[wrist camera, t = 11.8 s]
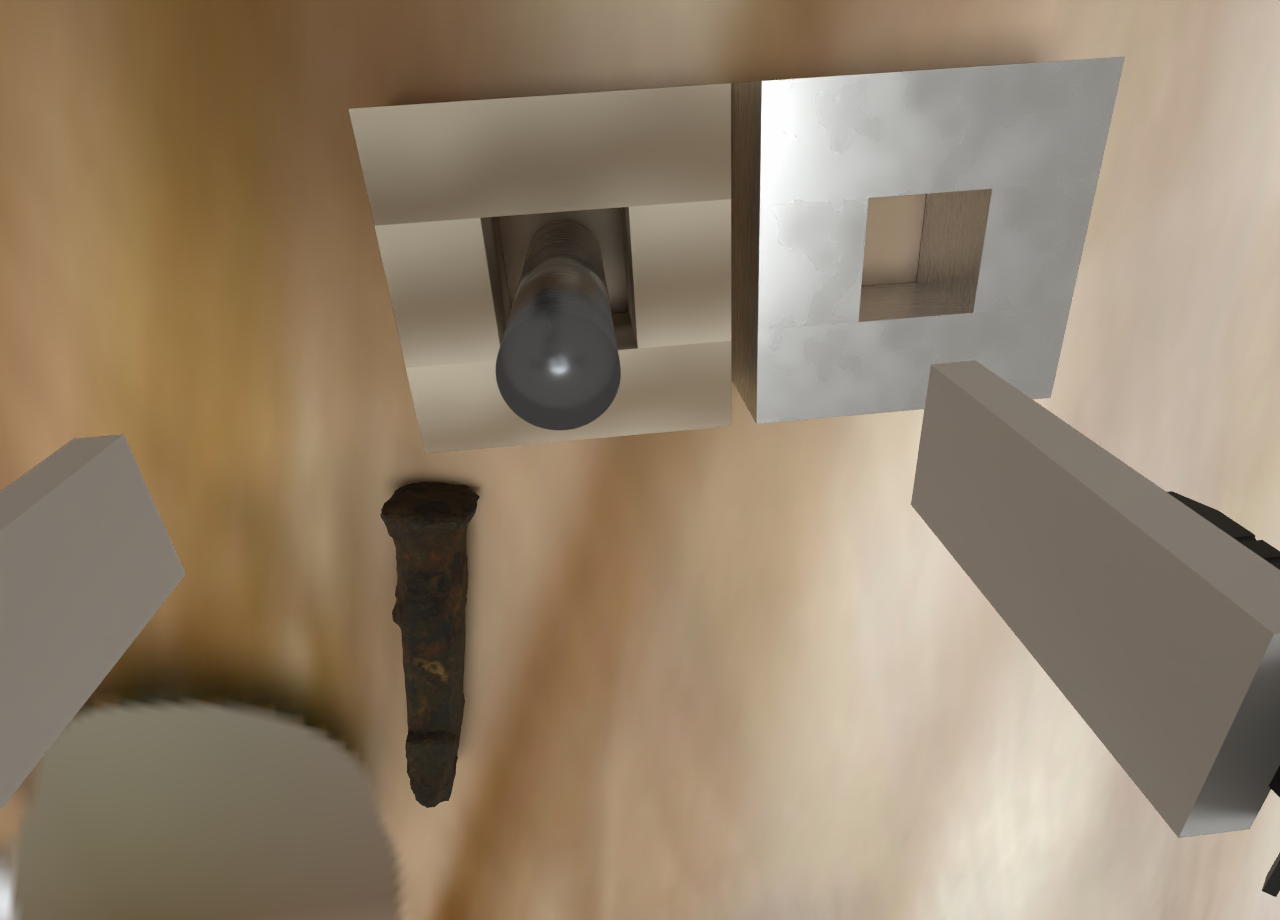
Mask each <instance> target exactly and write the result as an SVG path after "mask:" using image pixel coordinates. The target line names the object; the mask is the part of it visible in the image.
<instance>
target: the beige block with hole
mask: <svg viewBox="0 0 1280 920" xmlns="http://www.w3.org/2000/svg"><path fill="white" fill-rule="evenodd" d="M349 113H350V117H351V122H352V127H353V131H354V136H355V140H356V145H357V149H358V154H359V158H360V163H361V167H362V172H363V176H364V181H365V185H366V190H367V194H368V199H369V203H370V208H371V212H372V217H373V222H374V226H375V231H376V235H377V240H378V244H379V249H380V253H381V258H382V262H383V267H384V271H385V276H386V280H387V285H388V289H389V294H390V298H391V303H392V308H393V312H394V317H395V321H396V326H397V330H398V335H399V339H400V344H401V348H402V353H403V357H404V362H405V366H406V371H407V375H408V380H409V384H410V389H411V394H412V398H413V403H414V407H415V412H416V416H417V421H418V425H419V430H420V434H421V439H422V443H423V448H424V452H425V453H437V452H448V451H459V450H470V449H481V448H493V447H504V446H515V445H526V444H537V443H548V442H560V441H571V440H582V439H593V438H604V437H616V436H627V435H638V434H649V433H660V432H672V431H683V430H694V429H705V428H716V427H727V426H731V83H725V84H710V85H695V86H680V87H665V88H651V89H636V90H621V91H606V92H591V93H576V94H561V95H546V96H531V97H517V98H502V99H487V100H472V101H457V102H442V103H427V104H412V105H397V106H383V107H368V108H353V109H349ZM619 207H621V208H622V223H623V237H624V252H625V267H626V281H627V296H628V311H629V312H626V313H614V314H612V320H613V325H614V331H615V337H616V343H617V348H618V354H619V360H620V367H621V379H620V385H619V388H618V392H617V394H616V396H615V399H614V400H613V402H612V404H611V405H610V406H609V408H608V409H607V410H606V411H605V412H604V413H603V414H602V415H601V416H600V417H598V418H597V419H596V420H594V421H592V422H591V423H589V424H587V425H584V426H582V427H579V428H575V429H570V430H548V429H544V428H540V427H537V426H534V425H532V424H530V423H528V422H526V421H525V420H523V419H521V418H520V417H519V416H518V415H516V414H515V413H514V412H513V411H512V410H511V409H510V408H509V406H508V405H507V404H506V402H505V401H504V399H503V397H502V395H501V393H500V391H499V388H498V385H497V380H496V372H495V371H496V360H497V355H498V352H499V349H500V345H501V342H502V338H503V335H504V332H505V328H506V325H507V322H508V318H509V315H510V312H511V307H510V300H509V294H508V287H507V280H506V273H505V266H504V259H503V252H502V245H501V238H500V231H499V224H498V216H511V215H525V214H538V213H552V212H565V211H578V210H592V209H605V208H619Z"/></svg>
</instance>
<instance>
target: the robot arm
mask: <svg viewBox="0 0 1280 920" xmlns="http://www.w3.org/2000/svg"><path fill="white" fill-rule="evenodd" d="M911 505H912V506H913V508H914V509H915V510H916V511H917V513H918V514H919V515H920V516H921V517H922V519H923V520H924V521H925V522H926V524H927V525H928V526H929V527H930V529H931V530H932V531H933V532H934V534H935V535H936V536H937V537H938V539H939V540H940V541H941V542H942V544H943V545H944V546H945V547H946V549H947V550H948V551H949V552H950V554H951V555H952V556H953V557H954V559H955V560H956V561H957V562H958V564H959V565H960V566H961V567H962V569H963V570H964V571H965V572H966V574H967V575H968V576H969V577H970V579H971V580H972V581H973V582H974V583H975V585H976V586H977V587H978V588H979V590H980V591H981V592H982V593H983V595H984V596H985V597H986V598H987V600H988V601H989V602H990V603H991V605H992V606H993V607H994V608H995V610H996V611H997V612H998V613H999V615H1000V616H1001V617H1002V618H1003V620H1004V621H1005V622H1006V623H1007V625H1008V626H1009V627H1010V628H1011V630H1012V631H1013V632H1014V633H1015V635H1016V636H1017V637H1018V638H1019V640H1020V641H1021V642H1022V643H1023V645H1024V646H1025V647H1026V648H1027V649H1028V651H1029V652H1030V653H1031V654H1032V656H1033V657H1034V658H1035V659H1036V661H1037V662H1038V663H1039V664H1040V666H1041V667H1042V668H1043V669H1044V671H1045V672H1046V673H1047V674H1048V676H1049V677H1050V678H1051V679H1052V681H1053V682H1054V683H1055V684H1056V686H1057V687H1058V688H1059V689H1060V691H1061V692H1062V693H1063V694H1064V696H1065V697H1066V698H1067V699H1068V701H1069V702H1070V703H1071V704H1072V706H1073V707H1074V708H1075V709H1076V711H1077V712H1078V713H1079V714H1080V715H1081V717H1082V718H1083V719H1084V720H1085V722H1086V723H1087V724H1088V725H1089V727H1090V728H1091V729H1092V730H1093V732H1094V733H1095V734H1096V735H1097V737H1098V738H1099V739H1100V740H1101V742H1102V743H1103V744H1104V745H1105V747H1106V748H1107V749H1108V750H1109V752H1110V753H1111V754H1112V755H1113V757H1114V758H1115V759H1116V760H1117V762H1118V763H1119V764H1120V765H1121V767H1122V768H1123V769H1124V770H1125V772H1126V773H1127V774H1128V775H1129V777H1130V778H1131V779H1132V780H1133V781H1134V783H1135V784H1136V785H1137V786H1138V788H1139V789H1140V790H1141V791H1142V793H1143V794H1144V795H1145V796H1146V798H1147V799H1148V800H1149V801H1150V803H1151V804H1152V805H1153V806H1154V808H1155V809H1156V810H1157V811H1158V813H1159V814H1160V815H1161V816H1162V818H1163V819H1164V820H1165V821H1166V823H1167V824H1168V825H1169V826H1170V828H1171V829H1172V830H1173V831H1174V833H1175V834H1176V835H1177V836H1178V838H1181V837H1190V836H1198V835H1206V834H1215V833H1223V832H1231V831H1239V830H1248V829H1250V827H1251V825H1252V823H1253V822H1254V820H1255V818H1256V816H1257V814H1258V812H1259V810H1260V808H1261V807H1262V805H1263V803H1264V801H1265V799H1266V797H1267V795H1268V794H1269V792H1270V790H1271V789H1272V790H1273V791H1274V792H1275V793H1276V794H1277V795H1278V796H1279V797H1280V551H1278V550H1277V549H1275V548H1274V547H1272V546H1271V545H1269V544H1268V543H1266V542H1265V541H1263V540H1258V541H1257V540H1256V539H1255V535H1254V534H1253V533H1251V532H1250V531H1248V530H1247V529H1245V528H1244V527H1242V526H1241V525H1239V524H1238V523H1236V522H1235V521H1233V520H1232V519H1230V518H1229V517H1227V516H1226V515H1224V514H1223V513H1221V512H1219V511H1218V510H1215V509H1213V508H1211V507H1208V506H1206V505H1203V504H1201V503H1199V502H1196V501H1194V500H1191V499H1189V498H1187V497H1184V496H1182V495H1179V494H1177V493H1175V492H1166V491H1164V490H1163V489H1161V488H1160V487H1158V486H1157V485H1156V484H1154V483H1153V482H1151V481H1150V480H1148V479H1147V478H1145V477H1144V476H1142V475H1141V474H1140V473H1138V472H1137V471H1135V470H1134V469H1132V468H1131V467H1129V466H1128V465H1126V464H1125V463H1124V462H1122V461H1121V460H1119V459H1118V458H1116V457H1115V456H1113V455H1112V454H1111V453H1109V452H1108V451H1106V450H1105V449H1103V448H1102V447H1100V446H1099V445H1097V444H1096V443H1095V442H1093V441H1092V440H1090V439H1089V438H1087V437H1086V436H1084V435H1083V434H1082V433H1080V432H1079V431H1077V430H1076V429H1074V428H1073V427H1071V426H1070V425H1068V424H1067V423H1066V422H1064V421H1063V420H1061V419H1060V418H1058V417H1057V416H1055V415H1054V414H1053V413H1051V412H1050V411H1048V410H1047V409H1045V408H1044V407H1042V406H1041V405H1039V404H1038V403H1037V402H1035V401H1034V400H1032V399H1031V398H1029V397H1028V396H1026V395H1025V394H1024V393H1022V392H1021V391H1019V390H1018V389H1016V388H1015V387H1013V386H1012V385H1010V384H1009V383H1008V382H1006V381H1005V380H1003V379H1002V378H1000V377H999V376H997V375H996V374H994V373H993V372H992V371H990V370H989V369H987V368H986V367H984V366H983V365H981V364H980V363H979V362H977V361H976V360H974V361H962V362H951V363H939V364H931V367H930V374H929V381H928V388H927V395H926V403H925V410H924V417H923V424H922V431H921V438H920V445H919V452H918V459H917V466H916V474H915V481H914V488H913V495H912V502H911ZM185 575H186V574H185V571H184V569H183V567H182V565H181V562H180V560H179V558H178V556H177V553H176V551H175V549H174V547H173V544H172V542H171V540H170V538H169V535H168V533H167V531H166V529H165V526H164V524H163V522H162V519H161V517H160V515H159V513H158V510H157V508H156V506H155V504H154V501H153V499H152V497H151V495H150V492H149V490H148V488H147V486H146V483H145V481H144V479H143V477H142V474H141V472H140V470H139V468H138V465H137V463H136V461H135V459H134V456H133V454H132V452H131V450H130V447H129V445H128V443H127V441H126V438H125V436H124V434H122V435H110V436H98V437H87V438H75V439H73V440H71V441H70V442H69V443H67V444H66V445H64V446H63V447H62V448H60V449H59V450H57V451H56V452H55V453H53V454H52V455H50V456H49V457H48V458H46V459H45V460H43V461H42V462H41V463H39V464H38V465H36V466H35V467H34V468H32V469H31V470H29V471H28V472H27V473H25V474H24V475H22V476H21V477H20V478H18V479H17V480H15V481H14V482H13V483H11V484H10V485H8V486H7V487H6V488H4V489H3V490H1V491H0V810H1V809H2V808H3V806H4V805H5V804H6V803H7V801H8V800H9V799H10V798H11V796H12V795H13V794H14V792H15V791H16V790H17V789H18V787H19V786H20V785H21V784H22V782H23V781H24V780H25V778H26V777H27V776H28V775H29V773H30V772H31V771H32V770H33V768H34V767H35V766H36V764H37V763H38V762H39V761H40V759H41V758H42V757H43V756H44V754H45V753H46V752H47V750H48V749H49V748H50V747H51V745H52V744H53V743H54V741H55V740H56V739H57V738H58V736H59V735H60V734H61V733H62V731H63V730H64V729H65V727H66V726H67V725H68V724H69V722H70V721H71V720H72V719H73V717H74V716H75V715H76V713H77V712H78V711H79V710H80V708H81V707H82V706H83V705H84V703H85V702H86V701H87V699H88V698H89V697H90V696H91V694H92V693H93V692H94V691H95V689H96V688H97V687H98V685H99V684H100V683H101V682H102V680H103V679H104V678H105V677H106V675H107V674H108V673H109V671H110V670H111V669H112V668H113V666H114V665H115V664H116V663H117V661H118V660H119V659H120V657H121V656H122V655H123V654H124V652H125V651H126V650H127V648H128V647H129V646H130V645H131V643H132V642H133V641H134V640H135V638H136V637H137V636H138V634H139V633H140V632H141V631H142V629H143V628H144V627H145V626H146V624H147V623H148V622H149V620H150V619H151V618H152V617H153V615H154V614H155V613H156V612H157V610H158V609H159V608H160V606H161V605H162V604H163V603H164V601H165V600H166V599H167V598H168V596H169V595H170V594H171V592H172V591H173V590H174V589H175V587H176V586H177V585H178V584H179V582H180V581H181V580H182V578H183V577H184V576H185ZM1262 891H1263V892H1266V893H1268V894H1270V895H1272V896H1275V897H1276V896H1277V894H1278V893H1279V891H1280V853H1279V855H1278V857H1277V858H1276V860H1275V862H1274V864H1273V865H1272V867H1271V869H1270V871H1269V872H1268V874H1267V876H1266V880H1265V883H1264V886H1263V889H1262Z"/></svg>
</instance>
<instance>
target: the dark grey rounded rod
mask: <svg viewBox="0 0 1280 920" xmlns="http://www.w3.org/2000/svg"><path fill="white" fill-rule="evenodd" d="M495 372H496V380H497V385H498V388H499V391H500V393H501V395H502V397H503V399H504V401H505V402H506V404H507V405H508V406H509V408H510V409H511V410H512V411H513V412H514V413H515V414H516V415H518V416H519V417H520V418H521V419H523V420H525V421H526V422H528V423H530V424H532V425H534V426H537V427H540V428H544V429H548V430H570V429H575V428H579V427H582V426H584V425H587V424H589V423H591V422H592V421H594V420H596V419H597V418H598V417H600V416H601V415H602V414H603V413H604V412H605V411H606V410H607V409H608V408H609V406H610V405H611V404H612V402H613V400H614V399H615V396H616V394H617V392H618V388H619V385H620V379H621V367H620V360H619V354H618V348H617V343H616V337H615V331H614V325H613V320H612V314H611V308H610V303H609V297H608V291H607V285H606V280H605V274H604V268H603V262H602V257H601V251H600V247H599V244H598V242H597V240H596V238H595V237H594V236H593V234H592V233H591V232H590V231H589V230H588V229H587V228H585V227H584V226H582V225H580V224H578V223H576V222H572V221H555V222H552V223H550V224H547V225H546V226H544V227H543V228H541V229H540V230H539V231H538V232H537V233H536V235H535V236H534V238H533V240H532V242H531V245H530V248H529V251H528V254H527V258H526V261H525V264H524V268H523V271H522V275H521V278H520V281H519V285H518V288H517V291H516V295H515V298H514V301H513V305H512V308H511V312H510V315H509V318H508V322H507V325H506V328H505V332H504V335H503V338H502V342H501V345H500V349H499V352H498V355H497V360H496V371H495Z"/></svg>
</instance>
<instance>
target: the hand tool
mask: <svg viewBox="0 0 1280 920" xmlns="http://www.w3.org/2000/svg"><path fill="white" fill-rule="evenodd" d="M478 499H479V496H478V495H477V494H476V493H475V492H473V491H472V490H471V489H470V488H469V487H468V486H464V485H449V484H445V483H418V484H410V485H406V486H403V487H400V488H399V489H397V490H396V491H395V492H394V494H393V496H392V497H391V498H390V499H389V500H388V501H387V502H385V503H384V505H383V508H382V510H381V511H382V513H381V515H380V516H381V518H382V519H383V521H384V523H385V525H386V527H387V530H388V533H389V535H390V536H391V537H392V538H393V540H394V543H395V547H396V560H397V574H398V580H397V586H396V592H395V596H396V599H397V600H396V604H395V606H394V609H393V611H392V615H393V621H394V622H395V623H396V624H398V625H399V626H400V628H401V632H402V647H403V667H404V673H405V688H406V698H407V715H408V735H407V740H406V747H405V748H406V758H407V773H408V776H409V778H410V785H411V789H412V791H413V793H414V794H415V798H416V800H417V801H418V802H419V803H420V804H421V805H423V806H425V807H427V808H429V807H435V806H436V805H437V804H439V803H440V802H443V801H449V798H450V795H451V792H452V787H453V782H454V778H455V774H456V762H457V758H458V757H457V751H458V747H459V739H460V732H461V725H462V718H463V709H464V703H465V701H464V695H463V674H464V652H465V605H466V601H467V598H466V594H467V588H468V572H467V556H466V531H467V524H468V523H469V522H470V520H471V519H472V517H473V515H474V514H475V511H476V507H477V500H478Z"/></svg>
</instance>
